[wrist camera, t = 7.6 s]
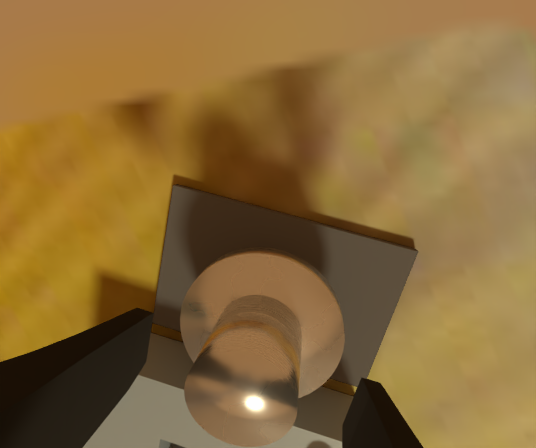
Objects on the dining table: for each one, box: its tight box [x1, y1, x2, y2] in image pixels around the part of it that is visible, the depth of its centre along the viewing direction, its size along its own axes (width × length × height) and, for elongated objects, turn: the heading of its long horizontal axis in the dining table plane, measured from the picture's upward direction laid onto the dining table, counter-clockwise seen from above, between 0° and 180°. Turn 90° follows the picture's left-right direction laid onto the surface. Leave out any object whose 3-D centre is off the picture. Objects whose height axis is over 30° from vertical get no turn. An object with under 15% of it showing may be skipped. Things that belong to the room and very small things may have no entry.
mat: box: [152, 184, 418, 387], centre depth 16 cm, size 12×8×1 cm, turn 77°
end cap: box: [180, 247, 345, 447], centre depth 13 cm, size 7×7×6 cm
